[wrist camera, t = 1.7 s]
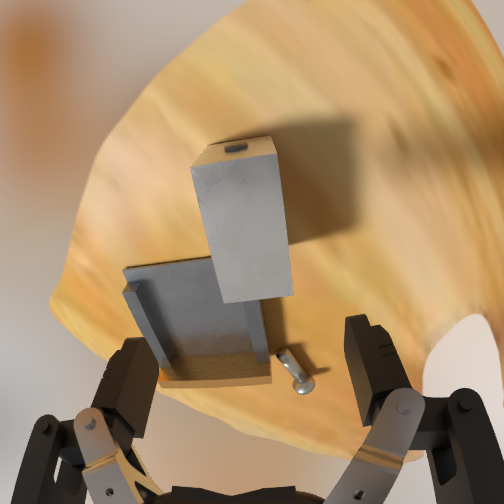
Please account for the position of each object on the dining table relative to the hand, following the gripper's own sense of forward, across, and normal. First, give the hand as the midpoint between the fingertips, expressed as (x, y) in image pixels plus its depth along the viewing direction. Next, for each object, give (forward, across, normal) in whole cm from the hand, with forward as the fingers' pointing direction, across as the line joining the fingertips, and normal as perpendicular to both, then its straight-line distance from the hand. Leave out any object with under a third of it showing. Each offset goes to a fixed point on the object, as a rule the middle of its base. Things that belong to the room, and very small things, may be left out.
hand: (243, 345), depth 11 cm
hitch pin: (+16, -2, +21) cm, 26 cm away
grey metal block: (+16, 0, 0) cm, 16 cm away
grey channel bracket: (+16, +7, +13) cm, 22 cm away
